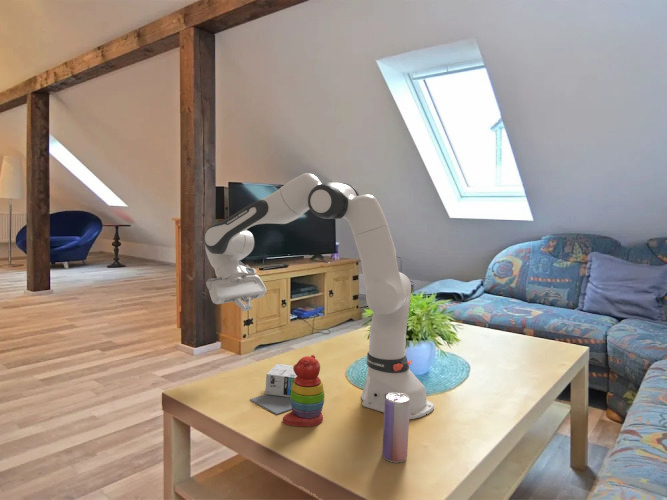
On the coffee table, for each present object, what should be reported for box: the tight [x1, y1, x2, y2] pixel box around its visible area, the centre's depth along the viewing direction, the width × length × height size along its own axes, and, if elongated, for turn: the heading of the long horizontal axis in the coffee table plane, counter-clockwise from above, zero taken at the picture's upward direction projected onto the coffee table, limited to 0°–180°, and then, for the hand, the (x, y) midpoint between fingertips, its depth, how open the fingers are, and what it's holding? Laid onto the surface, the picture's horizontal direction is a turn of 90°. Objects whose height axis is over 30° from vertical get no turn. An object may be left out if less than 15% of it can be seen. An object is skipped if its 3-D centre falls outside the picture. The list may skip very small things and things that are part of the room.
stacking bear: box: [282, 354, 325, 428], centre depth 137 cm, size 11×10×18 cm
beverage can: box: [381, 393, 410, 464], centre depth 119 cm, size 6×6×15 cm
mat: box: [250, 393, 292, 416], centre depth 149 cm, size 13×15×1 cm
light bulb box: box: [264, 363, 297, 398], centre depth 156 cm, size 11×7×11 cm
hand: (247, 309), depth 164 cm, fingers closed
